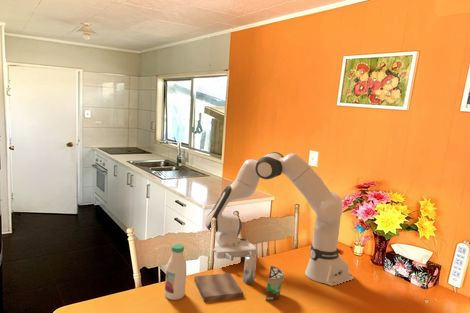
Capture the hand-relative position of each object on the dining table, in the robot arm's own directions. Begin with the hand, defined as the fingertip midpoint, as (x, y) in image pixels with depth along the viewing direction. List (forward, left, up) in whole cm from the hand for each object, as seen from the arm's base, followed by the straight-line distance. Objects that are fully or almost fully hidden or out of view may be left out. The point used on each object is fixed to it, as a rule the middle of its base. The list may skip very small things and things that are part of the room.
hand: (241, 258), depth 154 cm
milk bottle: (+33, +14, -6) cm, 36 cm away
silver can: (0, +10, -6) cm, 12 cm away
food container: (-6, +23, -6) cm, 24 cm away
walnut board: (+15, +13, -6) cm, 21 cm away
